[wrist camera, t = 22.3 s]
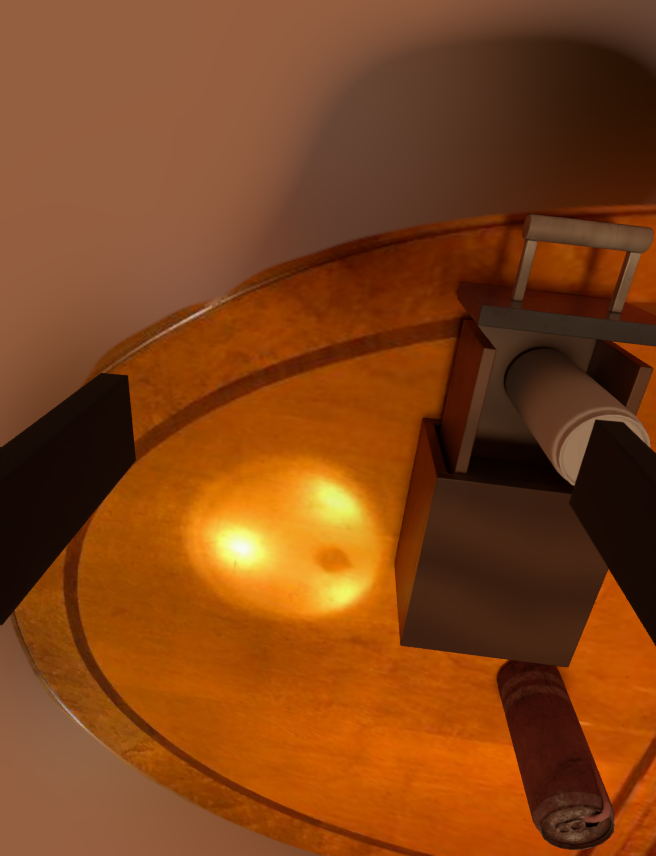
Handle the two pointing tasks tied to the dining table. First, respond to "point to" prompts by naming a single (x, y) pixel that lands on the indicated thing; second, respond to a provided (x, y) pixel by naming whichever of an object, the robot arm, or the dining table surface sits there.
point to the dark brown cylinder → (554, 758)
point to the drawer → (540, 329)
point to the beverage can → (563, 407)
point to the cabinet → (491, 564)
